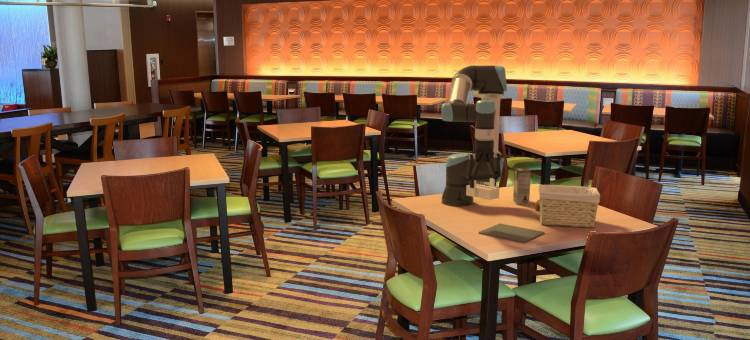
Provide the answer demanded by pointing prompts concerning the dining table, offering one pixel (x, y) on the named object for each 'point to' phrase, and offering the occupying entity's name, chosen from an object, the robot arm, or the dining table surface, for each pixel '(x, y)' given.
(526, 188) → the coffee box
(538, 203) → the bread roll
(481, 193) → the cream striped block
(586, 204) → the storage basket
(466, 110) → the robot arm
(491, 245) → the dining table surface
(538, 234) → the mat
